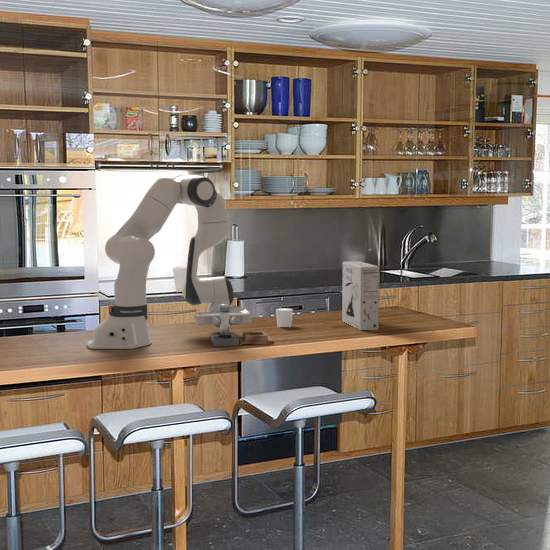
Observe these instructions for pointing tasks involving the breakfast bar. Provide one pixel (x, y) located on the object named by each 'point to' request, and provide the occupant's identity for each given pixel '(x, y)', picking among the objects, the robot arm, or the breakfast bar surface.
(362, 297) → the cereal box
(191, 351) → the breakfast bar surface
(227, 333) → the drill rod
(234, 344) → the socket
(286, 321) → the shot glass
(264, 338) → the rack
